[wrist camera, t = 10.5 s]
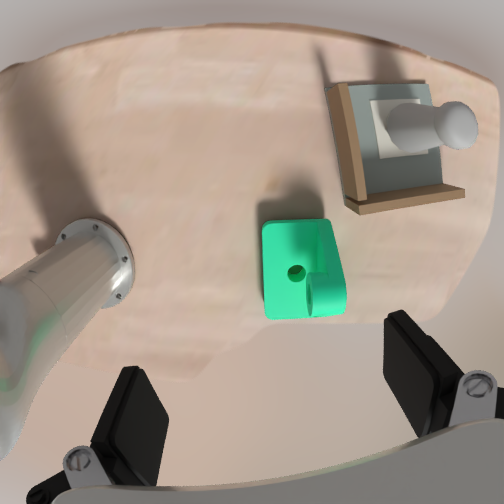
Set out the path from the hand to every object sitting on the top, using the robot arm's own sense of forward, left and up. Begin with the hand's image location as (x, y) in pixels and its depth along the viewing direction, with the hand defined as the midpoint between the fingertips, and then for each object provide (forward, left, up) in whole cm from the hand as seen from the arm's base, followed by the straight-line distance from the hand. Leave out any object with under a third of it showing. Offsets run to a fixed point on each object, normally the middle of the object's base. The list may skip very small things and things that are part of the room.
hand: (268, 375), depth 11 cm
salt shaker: (+19, +8, -26) cm, 33 cm away
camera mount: (+3, -7, -27) cm, 28 cm away
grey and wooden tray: (+17, +7, -27) cm, 33 cm away
